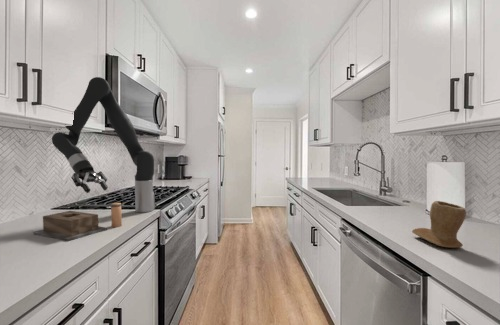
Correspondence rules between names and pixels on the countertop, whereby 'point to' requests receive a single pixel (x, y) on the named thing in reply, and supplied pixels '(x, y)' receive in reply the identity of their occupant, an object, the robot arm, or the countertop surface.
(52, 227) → the hitch block
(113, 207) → the dowel pin
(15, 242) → the countertop surface
